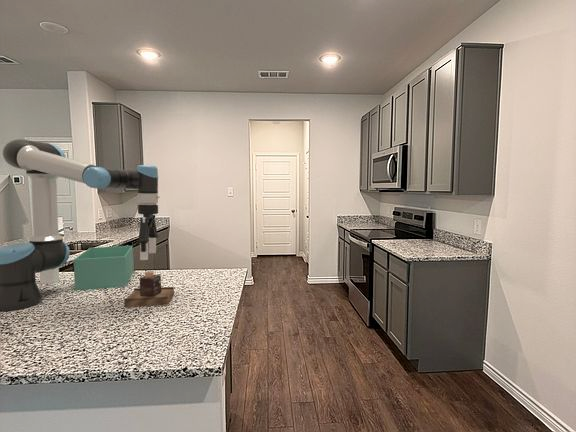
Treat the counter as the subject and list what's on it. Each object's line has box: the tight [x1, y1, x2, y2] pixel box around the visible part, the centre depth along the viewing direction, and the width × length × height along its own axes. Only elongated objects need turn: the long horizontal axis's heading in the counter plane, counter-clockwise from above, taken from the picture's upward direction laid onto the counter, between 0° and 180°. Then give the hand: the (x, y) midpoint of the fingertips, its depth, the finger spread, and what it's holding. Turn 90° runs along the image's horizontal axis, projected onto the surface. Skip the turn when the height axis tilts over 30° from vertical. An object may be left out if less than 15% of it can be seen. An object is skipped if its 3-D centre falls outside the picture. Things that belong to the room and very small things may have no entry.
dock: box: [123, 286, 175, 308], centre depth 134 cm, size 16×14×3 cm
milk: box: [39, 267, 60, 285], centre depth 159 cm, size 6×6×22 cm
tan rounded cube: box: [144, 270, 155, 278], centre depth 133 cm, size 3×3×2 cm
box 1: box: [73, 245, 134, 292], centre depth 164 cm, size 21×32×14 cm, turn 20°
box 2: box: [139, 274, 162, 296], centre depth 134 cm, size 6×6×7 cm
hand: (148, 256), depth 133 cm, fingers open, 13 cm apart
